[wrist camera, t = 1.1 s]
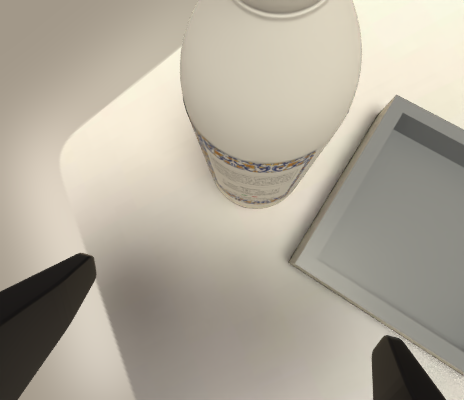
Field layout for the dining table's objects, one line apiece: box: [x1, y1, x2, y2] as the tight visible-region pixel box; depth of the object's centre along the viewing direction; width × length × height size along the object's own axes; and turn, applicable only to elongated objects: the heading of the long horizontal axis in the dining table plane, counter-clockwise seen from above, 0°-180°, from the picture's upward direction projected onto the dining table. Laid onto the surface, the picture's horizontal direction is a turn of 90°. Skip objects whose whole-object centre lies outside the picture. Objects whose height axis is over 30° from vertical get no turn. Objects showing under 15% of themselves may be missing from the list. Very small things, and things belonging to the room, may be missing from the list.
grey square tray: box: [288, 95, 464, 376], centre depth 20 cm, size 14×14×3 cm
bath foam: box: [180, 0, 362, 209], centre depth 14 cm, size 7×7×20 cm
